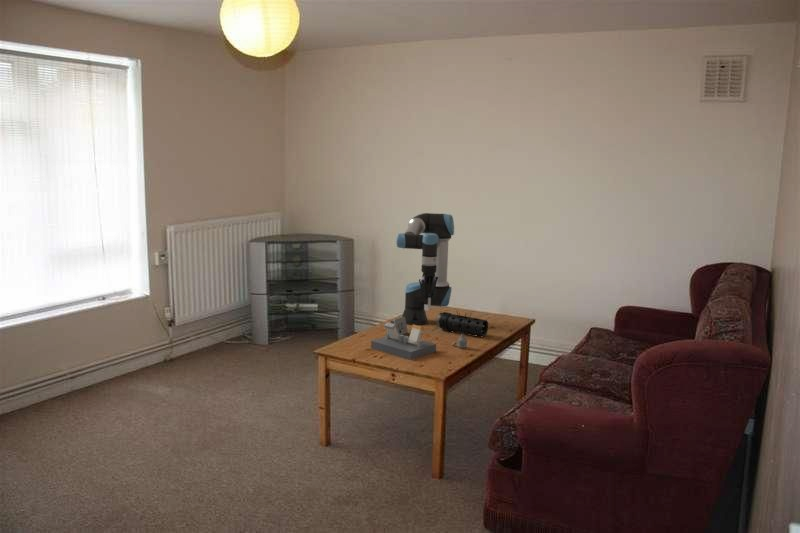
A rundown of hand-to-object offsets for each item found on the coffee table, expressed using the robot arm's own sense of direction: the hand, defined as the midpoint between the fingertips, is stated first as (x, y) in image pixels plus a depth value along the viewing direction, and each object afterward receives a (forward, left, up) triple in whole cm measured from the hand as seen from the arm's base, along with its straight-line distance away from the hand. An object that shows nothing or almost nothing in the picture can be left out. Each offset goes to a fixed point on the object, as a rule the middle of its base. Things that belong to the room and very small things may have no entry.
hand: (427, 310), depth 338 cm
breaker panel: (+11, -6, -20) cm, 23 cm away
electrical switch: (-10, -27, -20) cm, 35 cm away
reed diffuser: (-13, +12, -20) cm, 27 cm away
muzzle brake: (-37, -4, -20) cm, 43 cm away
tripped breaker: (+11, 0, -15) cm, 18 cm away
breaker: (+11, -12, -15) cm, 22 cm away
